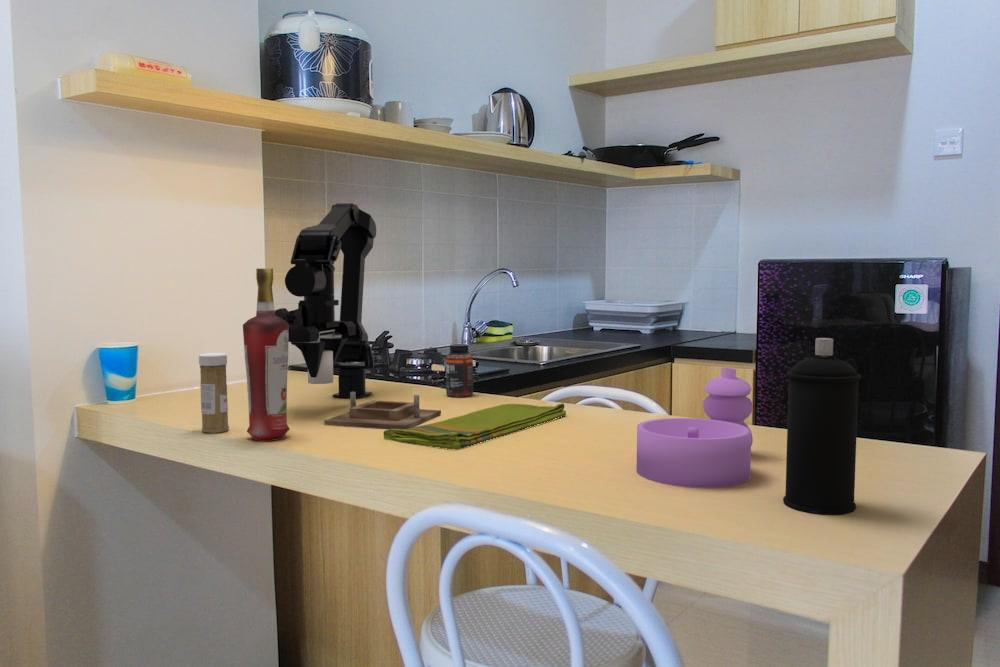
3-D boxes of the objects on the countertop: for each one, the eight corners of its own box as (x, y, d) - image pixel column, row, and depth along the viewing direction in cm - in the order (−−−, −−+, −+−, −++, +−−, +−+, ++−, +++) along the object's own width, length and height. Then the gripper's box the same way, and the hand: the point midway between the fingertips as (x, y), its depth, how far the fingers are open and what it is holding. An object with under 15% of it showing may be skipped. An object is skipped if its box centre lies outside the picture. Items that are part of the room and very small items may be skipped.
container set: (727, 494, 106) (729, 390, 105) (617, 477, 114) (618, 381, 113) (784, 457, 126) (787, 370, 125) (688, 444, 135) (689, 363, 134)
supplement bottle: (473, 393, 187) (473, 343, 187) (473, 397, 182) (472, 345, 181) (446, 393, 187) (446, 343, 186) (445, 397, 181) (445, 345, 180)
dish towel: (380, 443, 139) (380, 423, 138) (501, 411, 168) (500, 395, 168) (455, 454, 130) (455, 433, 130) (568, 419, 160) (568, 402, 159)
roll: (316, 380, 166) (315, 349, 165) (337, 381, 164) (337, 350, 164) (303, 383, 161) (302, 351, 161) (325, 384, 160) (324, 352, 159)
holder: (365, 410, 166) (365, 385, 166) (441, 414, 161) (440, 389, 161) (324, 424, 151) (324, 398, 151) (406, 430, 146) (405, 402, 146)
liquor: (261, 432, 144) (257, 268, 142) (299, 434, 142) (296, 268, 140) (236, 440, 137) (232, 268, 135) (276, 443, 135) (272, 268, 133)
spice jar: (233, 431, 145) (231, 353, 144) (208, 434, 142) (206, 355, 141) (221, 427, 148) (219, 351, 147) (196, 430, 145) (194, 353, 144)
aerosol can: (857, 518, 95) (863, 342, 94) (780, 510, 98) (785, 340, 97) (855, 499, 103) (861, 336, 101) (784, 492, 106) (789, 334, 104)
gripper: (307, 293, 173) (309, 368, 174) (254, 296, 155) (256, 380, 156) (356, 293, 169) (357, 370, 171) (307, 296, 152) (309, 382, 153)
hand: (320, 375), depth 163 cm, fingers closed on roll, 5 cm apart
